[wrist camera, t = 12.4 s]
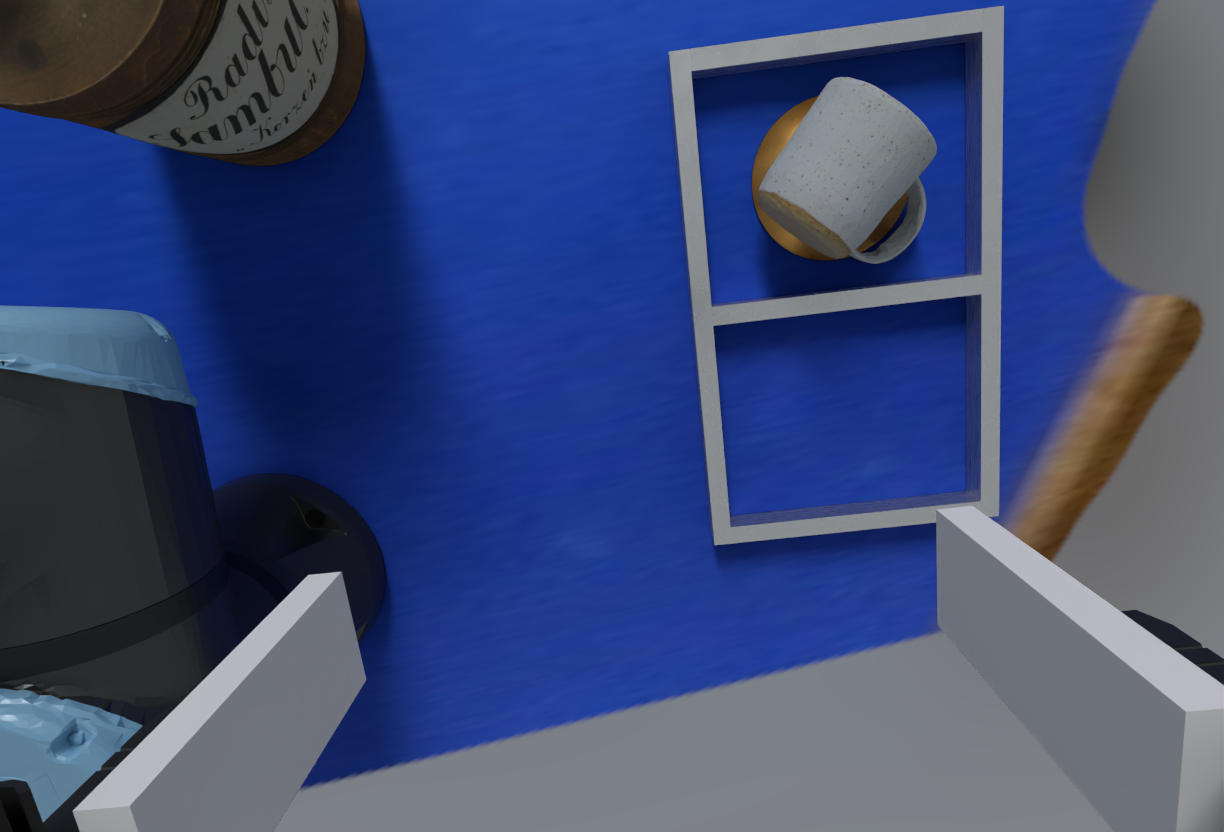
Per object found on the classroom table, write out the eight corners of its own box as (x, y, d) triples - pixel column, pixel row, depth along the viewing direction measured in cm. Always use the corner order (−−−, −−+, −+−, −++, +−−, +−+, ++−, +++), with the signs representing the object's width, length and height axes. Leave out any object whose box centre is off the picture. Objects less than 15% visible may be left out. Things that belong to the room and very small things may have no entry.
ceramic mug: (738, 203, 43) (763, 193, 36) (814, 90, 41) (856, 57, 34) (864, 293, 44) (912, 301, 37) (942, 187, 43) (1008, 175, 35)
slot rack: (710, 533, 48) (714, 545, 46) (666, 61, 41) (668, 51, 39) (983, 505, 47) (998, 515, 46) (985, 17, 40) (1003, 5, 39)
